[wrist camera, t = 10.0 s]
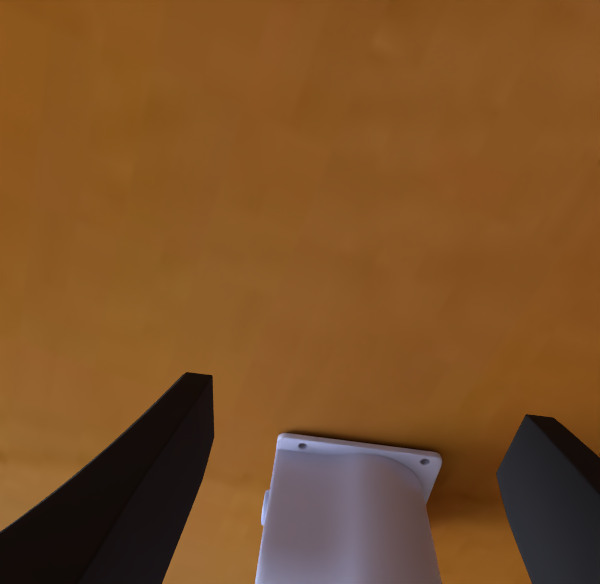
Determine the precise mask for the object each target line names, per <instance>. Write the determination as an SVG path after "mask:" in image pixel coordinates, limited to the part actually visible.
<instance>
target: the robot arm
mask: <svg viewBox="0 0 600 584" xmlns="http://www.w3.org/2000/svg"><path fill="white" fill-rule="evenodd" d="M213 439H214V414H213V380H212V375H205V374H197V373H189V372H186V373H185V374H184V375H182V376H181V377H180V378H179V379H178V380H177V381H176V382H175V383H174V384H173V385H172V386H171V387H170V388H169V389H168V390H167V391H166V392H165V393H164V394H163V395H162V396H161V397H160V398H159V399H158V400H157V401H156V402H155V403H154V404H153V405H152V406H151V407H150V408H149V409H148V410H147V411H146V412H145V413H144V414H143V415H142V416H141V417H140V418H139V419H137V420H136V421H135V422H134V423H133V424H132V425H131V426H130V427H129V428H128V429H127V430H126V431H125V432H123V433H122V434H121V435H120V436H119V437H118V438H117V439H116V440H115V441H114V442H113V443H111V444H110V445H109V446H108V447H107V448H106V449H105V450H103V451H102V452H101V453H100V454H99V455H98V456H96V457H95V458H94V459H93V460H92V461H90V462H89V463H88V464H87V465H86V466H85V467H83V468H82V469H81V470H80V471H79V472H77V473H76V474H75V475H74V476H73V477H72V478H70V479H69V480H68V481H67V482H65V483H64V484H63V485H62V486H60V487H59V488H58V489H57V490H55V491H54V492H53V493H52V494H50V495H49V496H48V497H46V498H45V499H44V500H42V501H41V502H40V503H39V504H37V505H36V506H35V507H33V508H32V509H31V510H29V511H28V512H27V513H25V514H24V515H23V516H21V517H20V518H19V519H17V520H16V521H14V522H13V523H12V524H10V525H9V526H8V527H6V528H5V529H3V530H2V531H0V584H162V582H163V579H164V577H165V574H166V572H167V569H168V567H169V564H170V561H171V559H172V556H173V554H174V551H175V549H176V546H177V544H178V541H179V539H180V536H181V534H182V531H183V528H184V526H185V523H186V521H187V518H188V516H189V513H190V511H191V508H192V505H193V503H194V500H195V498H196V495H197V493H198V490H199V487H200V485H201V482H202V479H203V476H204V472H205V469H206V465H207V462H208V458H209V454H210V451H211V447H212V443H213ZM302 443H305V444H302ZM441 465H442V458H441V455H440V454H439V453H436V452H431V451H424V450H416V449H408V448H400V447H392V446H384V445H377V444H369V443H361V442H353V441H345V440H338V439H330V438H322V437H314V436H306V435H298V434H291V433H282V434H280V435H279V436H278V440H277V450H276V456H275V462H274V468H273V474H272V480H271V486H270V490H266V492H265V497H264V503H263V510H262V518H261V524H262V525H264V529H263V535H262V541H261V547H260V553H259V560H258V566H257V573H256V580H255V584H442V581H441V576H440V571H439V567H438V562H437V557H436V552H435V547H434V543H433V538H432V533H431V528H430V523H429V519H428V514H427V509H426V503H427V501H428V498H429V496H430V493H431V491H432V488H433V485H434V483H435V480H436V478H437V475H438V473H439V470H440V468H441ZM496 475H497V479H498V483H499V487H500V491H501V496H502V500H503V503H504V507H505V511H506V514H507V518H508V521H509V524H510V527H511V530H512V532H513V535H514V538H515V540H516V543H517V545H518V548H519V551H520V553H521V556H522V559H523V561H524V564H525V566H526V569H527V571H528V574H529V577H530V579H531V582H532V584H600V458H599V457H598V456H597V455H596V454H595V453H594V452H593V451H592V450H590V449H589V448H588V447H587V446H586V445H585V444H584V443H583V442H581V441H580V440H579V439H578V438H577V437H576V436H575V435H573V434H572V433H571V432H570V431H569V430H568V429H567V428H565V427H564V426H563V425H562V424H561V423H559V422H558V421H557V420H556V419H554V418H552V417H544V416H536V415H528V414H526V415H525V417H524V419H523V421H522V423H521V425H520V427H519V429H518V431H517V433H516V435H515V437H514V439H513V441H512V443H511V445H510V447H509V449H508V451H507V453H506V455H505V457H504V459H503V461H502V463H501V465H500V467H499V469H498V471H497V473H496Z"/></svg>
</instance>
